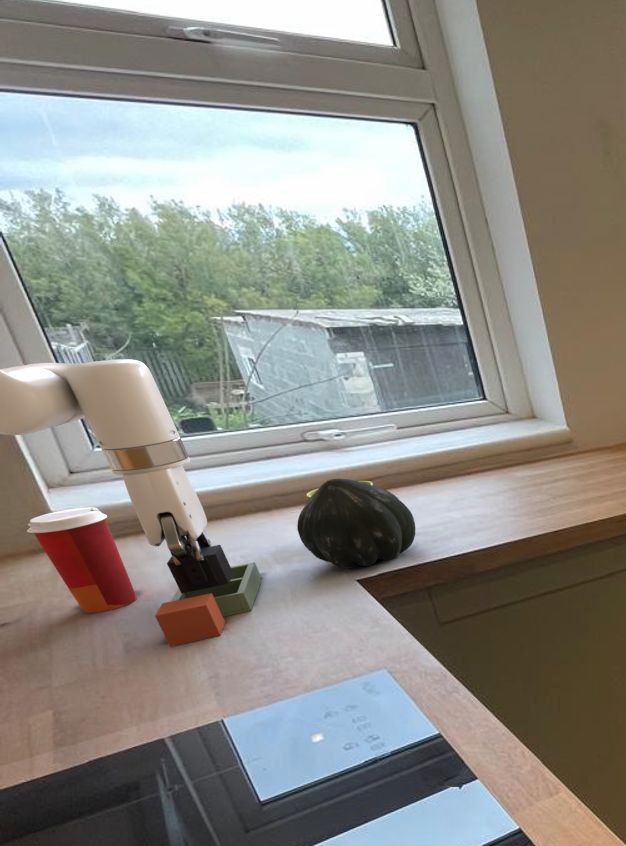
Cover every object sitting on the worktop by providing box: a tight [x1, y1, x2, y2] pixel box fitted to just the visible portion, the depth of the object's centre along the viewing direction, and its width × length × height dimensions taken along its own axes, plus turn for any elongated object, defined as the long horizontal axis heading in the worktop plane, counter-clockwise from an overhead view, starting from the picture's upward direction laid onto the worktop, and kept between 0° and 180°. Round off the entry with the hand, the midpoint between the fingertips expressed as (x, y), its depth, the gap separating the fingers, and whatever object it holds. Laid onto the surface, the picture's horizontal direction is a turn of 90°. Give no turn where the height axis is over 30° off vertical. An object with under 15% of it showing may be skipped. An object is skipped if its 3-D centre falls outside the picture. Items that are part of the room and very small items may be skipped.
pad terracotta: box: [154, 593, 226, 647], centre depth 107 cm, size 5×5×4 cm
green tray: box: [170, 561, 263, 618], centre depth 118 cm, size 8×15×3 cm, turn 36°
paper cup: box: [26, 506, 137, 614], centre depth 116 cm, size 8×8×14 cm
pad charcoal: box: [166, 544, 233, 593], centre depth 114 cm, size 5×5×4 cm
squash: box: [296, 478, 416, 569], centre depth 130 cm, size 14×15×15 cm
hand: (206, 580), depth 114 cm, fingers closed on pad charcoal, 5 cm apart
